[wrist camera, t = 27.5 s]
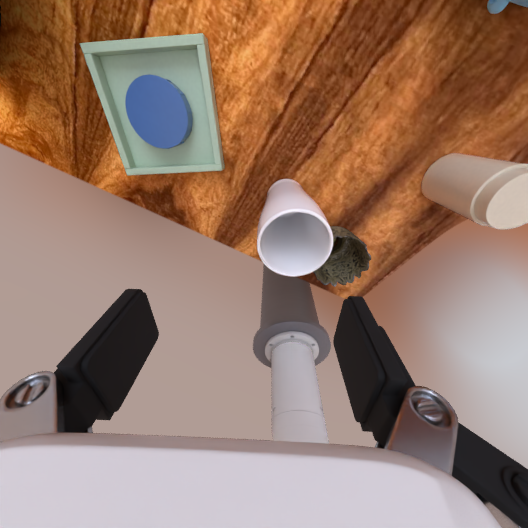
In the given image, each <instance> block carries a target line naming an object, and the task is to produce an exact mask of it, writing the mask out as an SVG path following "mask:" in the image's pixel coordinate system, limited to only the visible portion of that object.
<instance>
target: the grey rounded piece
mask: <svg viewBox="0 0 528 528" xmlns="http://www.w3.org/2000/svg"><path fill="white" fill-rule="evenodd" d="M330 228H331V230H332V233H333V247H332V251H331V253H330V255H329V257H328V259H327V260H326V261H325V263H324V264H323V265H322V266H321V267H319V268H318V269H317V270H315V271H313V272H314V273H315V275H316V278H317V280H320V281H321V282H322V283H323V284H324V285H327V284H329V283H331V284H332V285H333V286H334V287H335V286H336V284H337V282H338V283H340V284H342V285H346V283H347V282H348V283H352V282H353V281H354V276H357V277H358V278H360V277H361V272H362V271H366V270H368V268H369V260H371V255H370V254H369V253H368V252H367V248H366V247H367V245H366V244H365V243H364V242H362V241H361V240H360V239H359V238H358V237H356V236H355V235H354V234H353V233H352V232H350V231H349V230H347V229H345V228H343V227H339V226H331V227H330Z"/></svg>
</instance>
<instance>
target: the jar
mask: <svg viewBox="0 0 528 528" xmlns="http://www.w3.org/2000/svg"><path fill="white" fill-rule="evenodd" d="M421 187H422V192H423V195H424V196H425V197H426V198H427V199H429V200H431V201H433V202H435V203H437V204H439V205H441V206H443V207H445V208H447V209H449V210H451V211H453V212H455V213H457V214H459V215H461V216H463V217H465V218H467V219H469V220H471V221H473V222H476V223H477V224H480V225H483V226H488V227H493V228H497V229H512V228H515V227H518V226H521V225H523V224H526V223H527V222H528V164H523V163H517V162H511V161H505V160H499V159H493V158H487V157H481V156H475V155H469V154H462V153H452V154H448V155H445V156H443V157H441V158H440V159H438V160H437V161H436V162H434V163H433V164H432V165H431V166H430V167H429V169H428V170H427V171H426V173H425V175H424V177H423V180H422V185H421Z"/></svg>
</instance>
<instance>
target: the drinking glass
mask: <svg viewBox="0 0 528 528" xmlns="http://www.w3.org/2000/svg"><path fill="white" fill-rule="evenodd" d="M332 247H333V233H332V230H331V228H330V225H329V223H328V221H327V219H326V217H325V215H324V213H323V211H322V210H321V208H320V207H319V206H318V205H317V203H316V202H315V201H314V200H313V199H312V198H311V197H310V196H309V195H308V194H307V193H306V192H305V191H304V190H303V188H302V186H301V185H300V184H299V183H298V182H296V181H294V180H292V179H281V180H279V181H277V182H275V183H274V184H273V185H272V186H271V187H270V189H269V191H268V193H267V199H266V202H265V204H264V207H263V210H262V212H261V215H260V219H259V223H258V230H257V250H258V254H259V256H260V259H261V260H262V262H263V263H264V264H265V265H266V266H267V267H268V268H269V269H270V270H272V271H273V272H275V273H277V274H280V275H284V276H292V277H294V276H302V275H306V274H309V273H311V272H313V271H315V270H317V269H318V268H319V267H321V266H322V265H323V264H324V263H325V261H326V260H327V259H328V257H329V255H330V253H331V251H332Z"/></svg>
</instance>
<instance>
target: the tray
mask: <svg viewBox="0 0 528 528" xmlns="http://www.w3.org/2000/svg"><path fill="white" fill-rule="evenodd" d="M80 46H81V49H82V51H83V53H84V57H85V59H86V62H87V65H88V68H89V70H90V73H91V76H92V79H93V82H94V84H95V87H96V90H97V93H98V96H99V98H100V101H101V104H102V107H103V109H104V112H105V115H106V118H107V121H108V123H109V126H110V129H111V132H112V134H113V137H114V140H115V143H116V146H117V148H118V151H119V154H120V157H121V160H122V162H123V165H124V168H125V171H126V174H127V175H146V174H166V173H186V172H206V171H222V170H223V169H224V168H225V166H224V158H223V151H222V144H221V136H220V129H219V121H218V114H217V106H216V99H215V92H214V84H213V77H212V69H211V62H210V55H209V47H208V40H207V38H206V37H205V36H204V34H203V33H199V34H187V35H175V36H162V37H150V38H138V39H125V40H113V41H101V42H89V43H80ZM149 74H150V75H156V76H159V77H162V78H164V79H168V80H170V81H171V82H172V83H174V84H175V85H176V86H177V87H179V89H180V90H181V91H182V92H183V93H184V94H185V96H186V98H187V100H188V102H189V104H190V107H191V110H192V112H193V113H192V116H193V125H192V131H191V133H190V135H189V137H188V138H187V140H186V141H185V142H184V143H183V144H181V145H179V146H176V147H172V148H170V149H162V148H157V147H154V146H152V145H150V144H148V143H147V142H145V141H144V140H143V139H142V138H141V137H140V136H139V135H138V134H137V133H136V132H135V130H134V129H133V127H132V125H131V123H130V121H129V119H128V116H127V112H126V105H125V100H126V93H127V90H128V88H129V86H130V84H131V83H132V82H133V81H134V80H135V79H136V78H138V77H139V76H142V75H149Z"/></svg>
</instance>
